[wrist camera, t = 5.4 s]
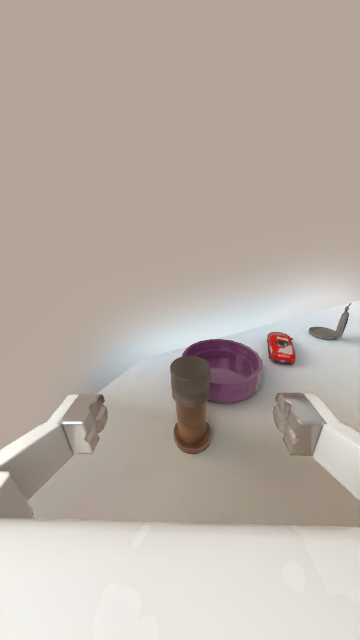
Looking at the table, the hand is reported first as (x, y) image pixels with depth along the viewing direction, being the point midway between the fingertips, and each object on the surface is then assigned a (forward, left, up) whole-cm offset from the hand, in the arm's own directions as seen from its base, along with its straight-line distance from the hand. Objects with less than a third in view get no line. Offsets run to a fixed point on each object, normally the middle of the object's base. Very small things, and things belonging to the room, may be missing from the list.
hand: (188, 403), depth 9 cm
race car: (-22, -34, -19) cm, 45 cm away
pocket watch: (-38, -41, -19) cm, 59 cm away
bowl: (-6, -25, -19) cm, 32 cm away
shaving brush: (0, -12, -19) cm, 22 cm away
